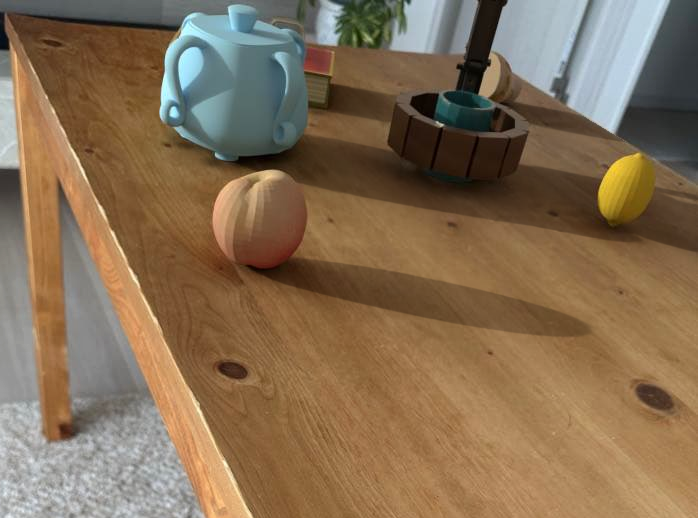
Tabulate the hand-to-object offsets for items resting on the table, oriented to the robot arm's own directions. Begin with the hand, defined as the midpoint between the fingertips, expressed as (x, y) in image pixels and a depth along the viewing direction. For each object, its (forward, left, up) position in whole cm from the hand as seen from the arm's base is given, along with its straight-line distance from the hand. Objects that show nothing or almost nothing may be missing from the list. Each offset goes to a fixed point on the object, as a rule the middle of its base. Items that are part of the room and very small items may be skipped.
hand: (457, 126), depth 106 cm
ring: (0, +7, -1) cm, 7 cm away
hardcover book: (+28, -11, -3) cm, 30 cm away
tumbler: (0, +7, -3) cm, 7 cm away
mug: (-4, -24, -3) cm, 25 cm away
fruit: (+16, +41, -3) cm, 44 cm away
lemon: (-19, +13, -3) cm, 23 cm away
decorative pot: (+25, +13, -3) cm, 28 cm away
